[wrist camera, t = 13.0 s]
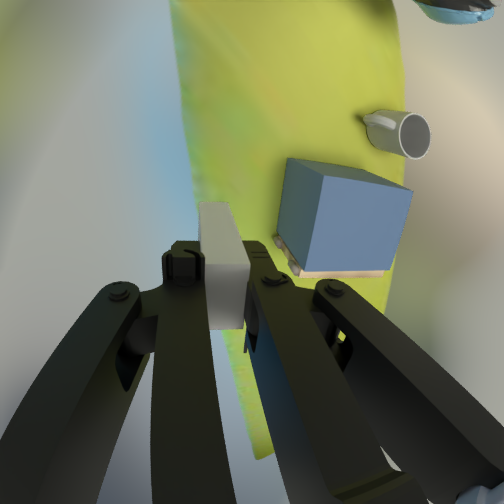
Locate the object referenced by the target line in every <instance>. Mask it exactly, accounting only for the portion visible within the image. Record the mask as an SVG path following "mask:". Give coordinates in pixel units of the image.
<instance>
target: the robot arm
mask: <svg viewBox="0 0 504 504" xmlns="http://www.w3.org/2000/svg"><path fill="white" fill-rule="evenodd" d="M413 1H414V2H415V3H417V4H418V5H419V7H420V8H421V9H422V10H423V12H424V13H425V14H426V15H427V16H428V17H429V18H431V19H433V20H435V21H436V22H440V23H444V24H452V25H462V24H472V23H477V21H485V20H488V19H490V18H491V17H493V15H494V8H493V7H495V6H500V4H501V1H502V0H413ZM162 273H163V284H162V285H160V286H159V287H157V288H155V289H152V290H148V291H143V292H140V291H139V288H138V287H137V286H136V285H135V284H133V283H130V282H122V281H119V282H113V283H111V284H108V285H106V286H105V287H104V288H102V289H101V290H100V291H99V293H98V294H97V295H96V296H95V297H94V299H93V300H92V301H91V302H90V304H89V305H88V306H87V308H86V309H85V310H84V311H83V313H82V314H81V315H80V316H79V318H78V319H77V320H76V322H75V323H74V325H73V326H72V327H71V328H70V330H69V331H68V333H67V334H66V335H65V336H64V338H63V339H62V341H61V342H60V343H59V345H58V346H57V348H56V349H55V350H54V352H53V353H52V355H51V356H50V358H49V359H48V361H47V362H46V364H45V365H44V366H43V368H42V369H41V371H40V373H39V374H38V376H37V377H36V379H35V380H34V382H33V383H32V385H31V386H30V388H29V390H28V391H27V393H26V395H25V396H24V398H23V400H22V401H21V403H20V405H19V407H18V408H17V410H16V412H15V414H14V415H13V417H12V419H11V421H10V422H9V424H8V426H7V428H6V430H5V432H4V434H3V436H2V438H1V440H0V504H96V502H97V499H98V495H99V492H100V489H101V486H102V483H103V480H104V477H105V474H106V471H107V468H108V464H109V462H110V459H111V456H112V453H113V450H114V447H115V445H116V441H117V439H118V436H119V433H120V431H121V428H122V425H123V423H124V420H125V417H126V415H127V412H128V410H129V407H130V404H131V402H132V399H133V397H134V394H135V392H136V389H137V387H138V384H139V382H140V380H141V377H142V375H143V372H144V370H145V367H146V365H147V363H148V360H149V358H150V353H152V352H155V353H154V366H153V380H152V398H151V431H150V432H151V434H150V437H151V438H150V453H151V454H150V455H151V486H152V501H153V504H237V503H236V498H235V493H234V488H233V483H232V478H231V473H230V468H229V462H228V457H227V452H226V445H225V440H224V434H223V427H222V422H221V415H220V408H219V401H218V395H217V387H216V380H215V373H214V365H213V356H212V348H211V339H210V331H209V330H223V329H243V326H244V319H245V322H246V326H247V327H246V335H245V343H244V353H247V348H248V351H249V355H250V359H251V363H252V367H253V371H254V375H255V379H256V383H257V387H258V391H259V395H260V398H261V402H262V406H263V410H264V414H265V417H266V421H267V425H268V429H269V432H270V436H271V440H272V443H273V447H274V450H275V454H276V457H277V461H278V465H279V468H280V472H281V475H282V478H283V482H284V485H285V489H286V492H287V495H288V499H289V502H290V504H429V503H428V500H429V501H431V502H432V503H433V504H504V427H503V426H502V425H501V424H500V423H499V422H498V421H497V420H496V419H495V418H494V417H493V416H492V415H491V414H490V413H489V412H488V411H487V410H486V409H485V408H484V407H483V406H482V405H481V404H480V403H479V402H478V401H477V400H476V399H475V398H474V397H473V396H472V395H471V394H470V393H469V392H468V391H467V390H466V389H465V388H464V387H462V385H460V384H459V383H458V382H457V381H456V380H455V379H454V378H453V377H452V376H451V375H450V374H449V373H447V371H445V370H444V369H443V368H442V367H441V366H440V365H439V364H438V363H437V362H436V361H435V360H434V359H433V358H431V357H430V356H429V355H428V354H427V353H426V352H425V351H423V350H422V349H421V348H420V347H419V346H418V345H417V344H416V343H415V342H414V341H413V340H411V339H410V338H409V337H408V336H407V335H406V334H405V333H403V332H402V331H401V330H400V329H399V328H398V327H397V326H395V325H394V324H393V323H392V322H391V321H390V320H388V319H387V318H386V317H385V316H384V315H383V314H382V313H380V312H379V311H378V310H377V309H376V308H375V307H373V306H372V305H371V304H370V303H369V302H368V301H366V300H365V299H364V298H363V297H362V296H360V295H359V294H358V293H357V292H356V291H355V290H353V289H352V288H351V287H350V286H348V285H347V284H345V283H344V282H341V281H339V280H337V279H322V280H320V281H318V282H317V283H316V286H315V290H314V289H307V288H301V287H297V286H295V284H294V283H293V281H292V279H291V278H290V277H289V276H288V275H287V274H285V273H283V272H280V271H278V270H277V268H276V266H275V264H274V262H273V260H272V258H271V257H270V255H269V253H268V251H267V249H266V247H265V246H264V245H263V244H262V243H260V242H259V241H242V239H241V237H240V234H239V231H238V229H237V226H236V223H235V220H234V218H233V215H232V212H231V209H230V207H229V204H228V202H199V229H198V241H176V242H175V243H174V244H173V245H172V246H171V250H168V251H167V252H165V253H164V254H163V256H162ZM340 330H341V331H342V332H343V333H344V334H345V335H346V337H345V339H344V341H341V340H340V339H339V338H338V335H339V333H340ZM380 446H381V447H382V448H383V449H384V451H385V452H386V453H387V454H388V455H389V457H390V458H391V459H392V460H393V461H394V462H395V464H396V465H397V466H398V467H399V468H400V469H401V471H402V472H401V471H396V470H394V469H393V468H392V467H391V466H390V465H389V463H388V462H387V460H386V457H385V455H384V453H383V451H382V449H381V448H380ZM427 499H428V500H427Z"/></svg>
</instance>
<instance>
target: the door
mask: <svg viewBox="0 0 504 504" xmlns="http://www.w3.org/2000/svg"><path fill="white" fill-rule="evenodd" d="M273 241H274V243H275V244H276V246H277V247H278V248H279V249H282V251H283V253H284V254H285V256H286V257H287V259H288V261H289V262H288V266H289V267H290V269H291V271H292V272H293V274H294V275H296V276H297V275H298V277H299V278H370V277H383V274H384V271H385V270H378V271H325V272H304V271H303V269H302V268H301V266H300V265H299V263H298V262H297V260H296V259H295V257H294V256H293V254H292V253H291V251H290V250H289V248H288V247H287V245H286V244H285V242H284V241H283V240H282V238H281V237H280V235H278V236H275V237H274V238H273Z"/></svg>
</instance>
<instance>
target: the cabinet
mask: <svg viewBox="0 0 504 504" xmlns="http://www.w3.org/2000/svg"><path fill="white" fill-rule="evenodd" d="M412 195H413V191H411V190H409V189H407V188H405V187H403V186H400V185H398V184H396V183H394V182H391V181H389V180H387V179H385V178H382V177H380V176H377V175H375V174H373V173H370V172H368V171H365V170H362V169H356V168H351V167H346V166H340V165H334V164H328V163H322V162H316V161H309V160H302V159H294V158H287V165H286V171H285V178H284V185H283V192H282V198H281V205H280V211H279V218H278V224H277V230H276V231H277V232H278V234H279V235H280V237H281V238H282V240H283V241H284V242H285V244H286V245H287V247H288V248H289V250H290V251H291V253H292V254H293V256H294V257H295V259H296V260H297V262H298V263H299V265H300V266H301V268H302V269H303V271H304V272H325V271H378V270H390V268H391V265H392V262H393V259H394V256H395V253H396V250H397V247H398V244H399V241H400V238H401V235H402V231H403V228H404V225H405V220H406V218H407V214H408V210H409V206H410V203H411V199H412Z"/></svg>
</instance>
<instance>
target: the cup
mask: <svg viewBox="0 0 504 504" xmlns="http://www.w3.org/2000/svg"><path fill="white" fill-rule="evenodd" d="M363 121H364V123H365V124H367V135H368V138H369V140H370V142H371V143H372V144H373V145H374V146H375V147H376V148H378V149H380V150H384V151H387V152H391V153H394V154H398V155H401V156H404V157H407V158H411V159H414V160H415V159H420V158H422V157H423V156H425V155H426V153H427V152H428V150H429V148H430V145H431V129H430V126H429V124H428V122H427V120H426V119H425V118H424V117H423V116H422V115H420V114H418V113H412V112H402V111H390V110H379V111H376V112H374V113H373V114H366V115H365V116H364V117H363Z"/></svg>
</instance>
